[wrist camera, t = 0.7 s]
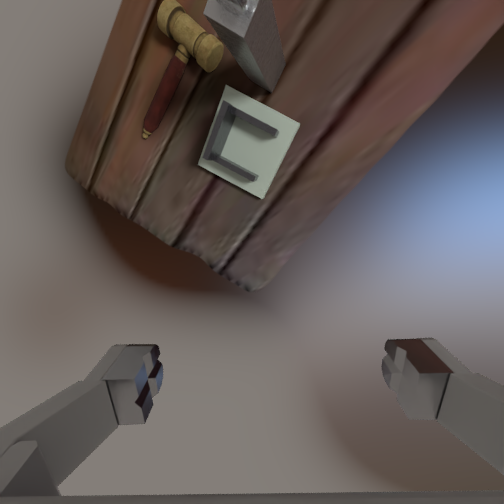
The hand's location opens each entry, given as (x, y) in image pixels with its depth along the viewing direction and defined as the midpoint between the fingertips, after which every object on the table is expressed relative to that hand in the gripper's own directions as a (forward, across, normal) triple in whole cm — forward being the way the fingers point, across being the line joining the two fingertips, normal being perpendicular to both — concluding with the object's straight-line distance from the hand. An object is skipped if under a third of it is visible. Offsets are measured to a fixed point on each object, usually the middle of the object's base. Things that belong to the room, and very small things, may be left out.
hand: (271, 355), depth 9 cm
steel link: (+40, -2, -22) cm, 46 cm away
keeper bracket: (+42, +2, -11) cm, 43 cm away
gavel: (+45, +15, -21) cm, 51 cm away
